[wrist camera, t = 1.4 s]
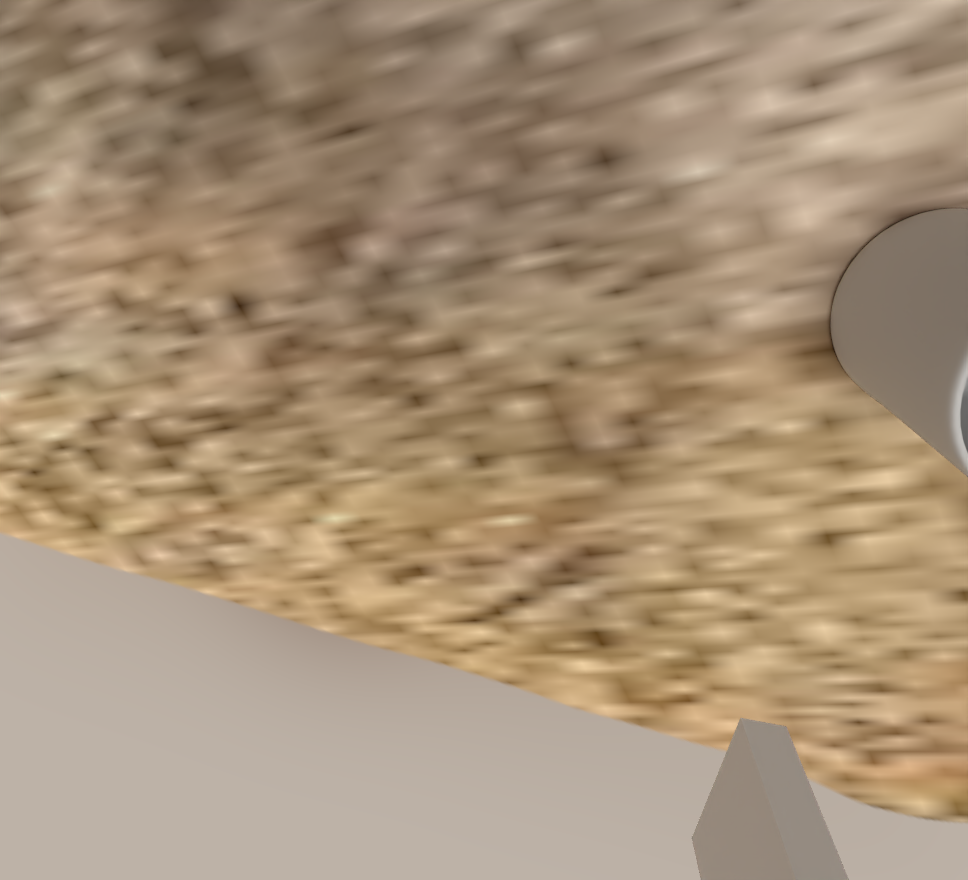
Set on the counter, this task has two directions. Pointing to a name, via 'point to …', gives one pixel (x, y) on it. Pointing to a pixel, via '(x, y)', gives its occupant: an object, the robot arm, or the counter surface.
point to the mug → (911, 326)
